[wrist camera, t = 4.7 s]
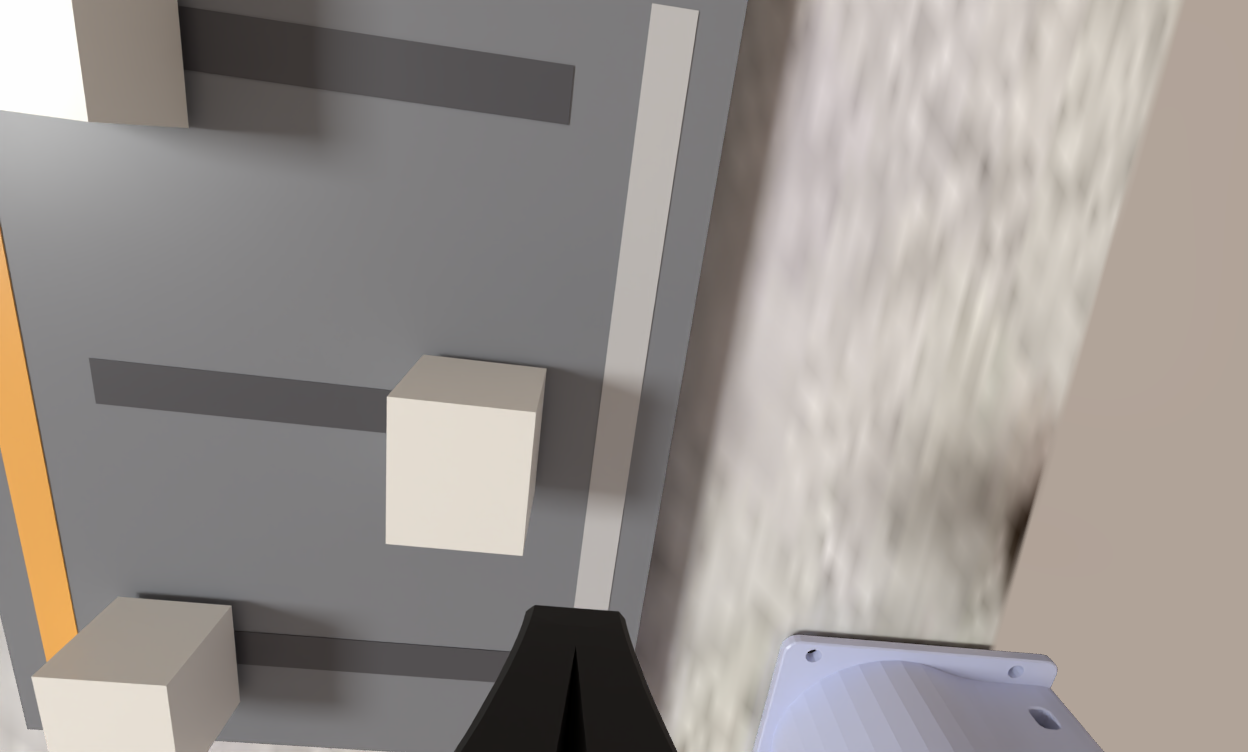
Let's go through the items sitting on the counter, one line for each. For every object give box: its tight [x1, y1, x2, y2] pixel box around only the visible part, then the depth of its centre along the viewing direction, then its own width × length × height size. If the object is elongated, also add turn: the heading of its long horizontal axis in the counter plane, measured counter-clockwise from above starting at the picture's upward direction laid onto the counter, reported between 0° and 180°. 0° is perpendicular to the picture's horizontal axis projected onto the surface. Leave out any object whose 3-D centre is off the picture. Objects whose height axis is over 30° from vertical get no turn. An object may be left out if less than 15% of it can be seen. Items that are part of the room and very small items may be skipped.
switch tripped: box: [386, 355, 547, 556], centre depth 15 cm, size 3×4×3 cm
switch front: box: [0, 0, 189, 128], centre depth 11 cm, size 3×4×3 cm
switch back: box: [31, 597, 240, 752], centre depth 17 cm, size 3×4×3 cm
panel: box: [0, 0, 748, 752], centre depth 17 cm, size 18×24×2 cm
